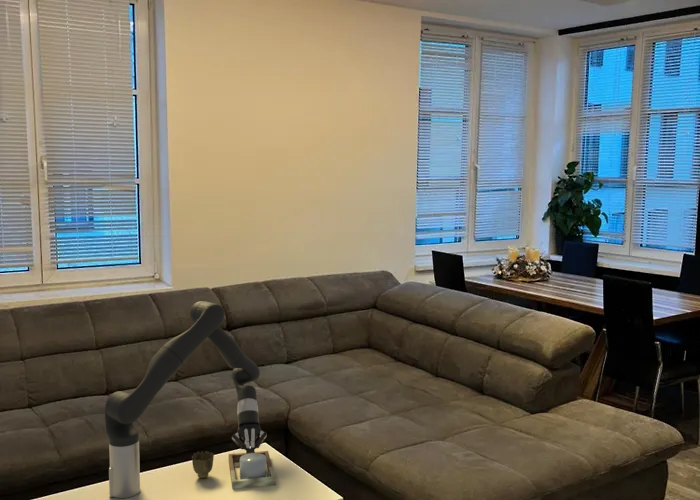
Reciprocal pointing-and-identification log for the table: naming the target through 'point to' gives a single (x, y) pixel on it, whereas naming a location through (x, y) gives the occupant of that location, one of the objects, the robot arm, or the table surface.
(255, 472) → the slate stoneware canister
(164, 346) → the robot arm
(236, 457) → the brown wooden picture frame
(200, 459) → the cup
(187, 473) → the table surface
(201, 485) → the table surface
